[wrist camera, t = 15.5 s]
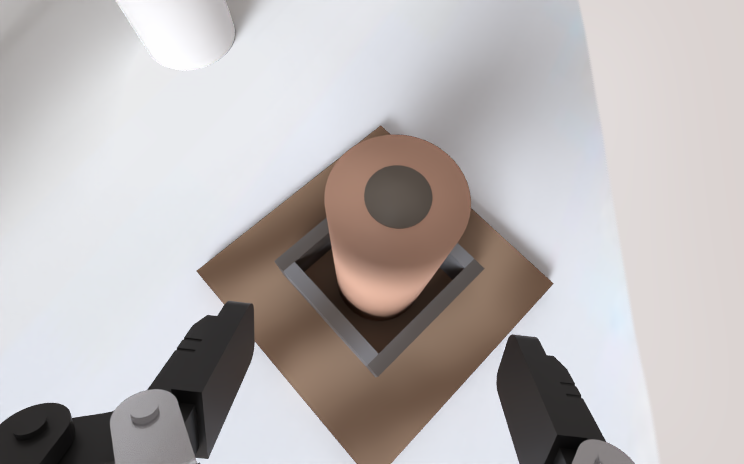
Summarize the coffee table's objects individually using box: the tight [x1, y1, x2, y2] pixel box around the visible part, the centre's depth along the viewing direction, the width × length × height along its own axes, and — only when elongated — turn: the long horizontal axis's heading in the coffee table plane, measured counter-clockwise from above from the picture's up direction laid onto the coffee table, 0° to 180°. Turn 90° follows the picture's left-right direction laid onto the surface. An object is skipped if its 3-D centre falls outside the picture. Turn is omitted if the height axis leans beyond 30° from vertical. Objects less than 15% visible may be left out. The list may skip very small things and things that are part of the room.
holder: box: [197, 126, 553, 464], centre depth 25 cm, size 16×16×4 cm
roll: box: [324, 135, 471, 321], centre depth 20 cm, size 5×5×12 cm
